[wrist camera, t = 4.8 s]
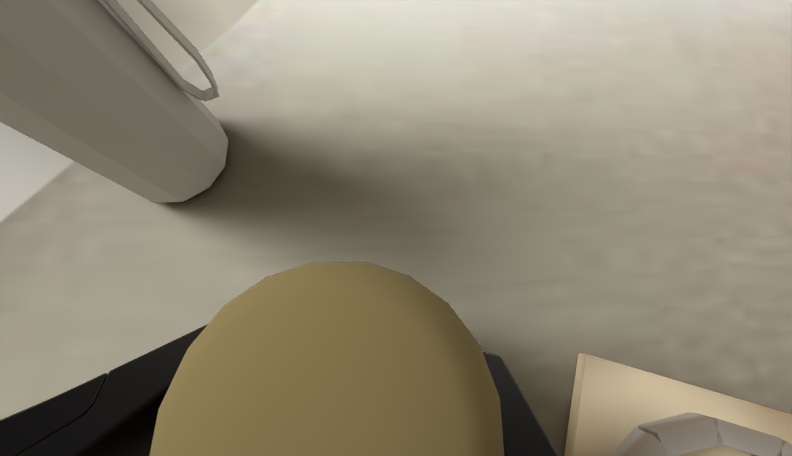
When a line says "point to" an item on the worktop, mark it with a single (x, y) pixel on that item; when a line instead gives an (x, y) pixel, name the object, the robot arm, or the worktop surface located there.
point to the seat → (665, 417)
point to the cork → (332, 373)
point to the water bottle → (108, 96)
